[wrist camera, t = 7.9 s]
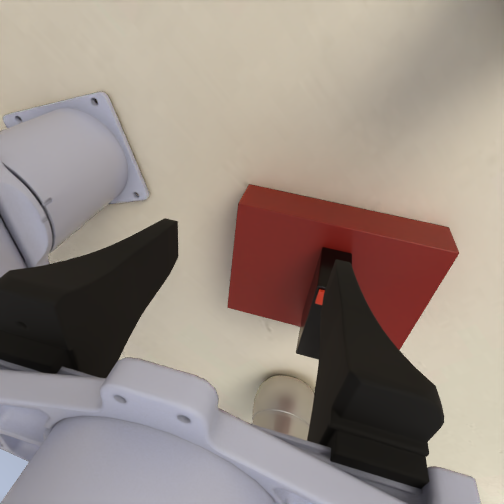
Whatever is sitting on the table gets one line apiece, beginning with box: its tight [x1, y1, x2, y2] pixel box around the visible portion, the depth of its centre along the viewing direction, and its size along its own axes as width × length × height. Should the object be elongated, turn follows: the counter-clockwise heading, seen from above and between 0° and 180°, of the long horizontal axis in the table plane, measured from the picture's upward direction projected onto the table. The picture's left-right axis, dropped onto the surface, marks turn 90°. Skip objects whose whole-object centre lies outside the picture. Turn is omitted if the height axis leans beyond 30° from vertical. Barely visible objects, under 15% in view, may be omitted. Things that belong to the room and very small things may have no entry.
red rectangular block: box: [228, 184, 459, 350], centre depth 26 cm, size 14×10×3 cm
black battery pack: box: [296, 247, 352, 359], centre depth 23 cm, size 6×2×4 cm, turn 173°
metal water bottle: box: [252, 375, 314, 441], centre depth 31 cm, size 6×7×20 cm
